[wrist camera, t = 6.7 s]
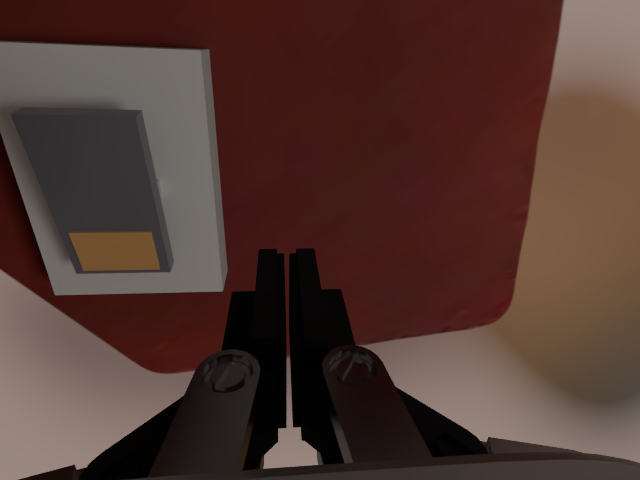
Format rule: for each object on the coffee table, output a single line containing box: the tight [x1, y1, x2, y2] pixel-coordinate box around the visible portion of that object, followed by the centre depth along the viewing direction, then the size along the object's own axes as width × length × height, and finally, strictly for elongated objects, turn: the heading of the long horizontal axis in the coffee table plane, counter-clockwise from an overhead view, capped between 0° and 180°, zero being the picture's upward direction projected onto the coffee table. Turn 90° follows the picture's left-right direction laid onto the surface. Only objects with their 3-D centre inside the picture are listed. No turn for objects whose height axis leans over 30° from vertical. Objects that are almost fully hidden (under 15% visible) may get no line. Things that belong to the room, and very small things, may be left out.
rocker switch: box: [10, 107, 174, 274], centre depth 31 cm, size 14×8×2 cm, turn 178°
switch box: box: [0, 41, 227, 295], centre depth 34 cm, size 22×16×6 cm
